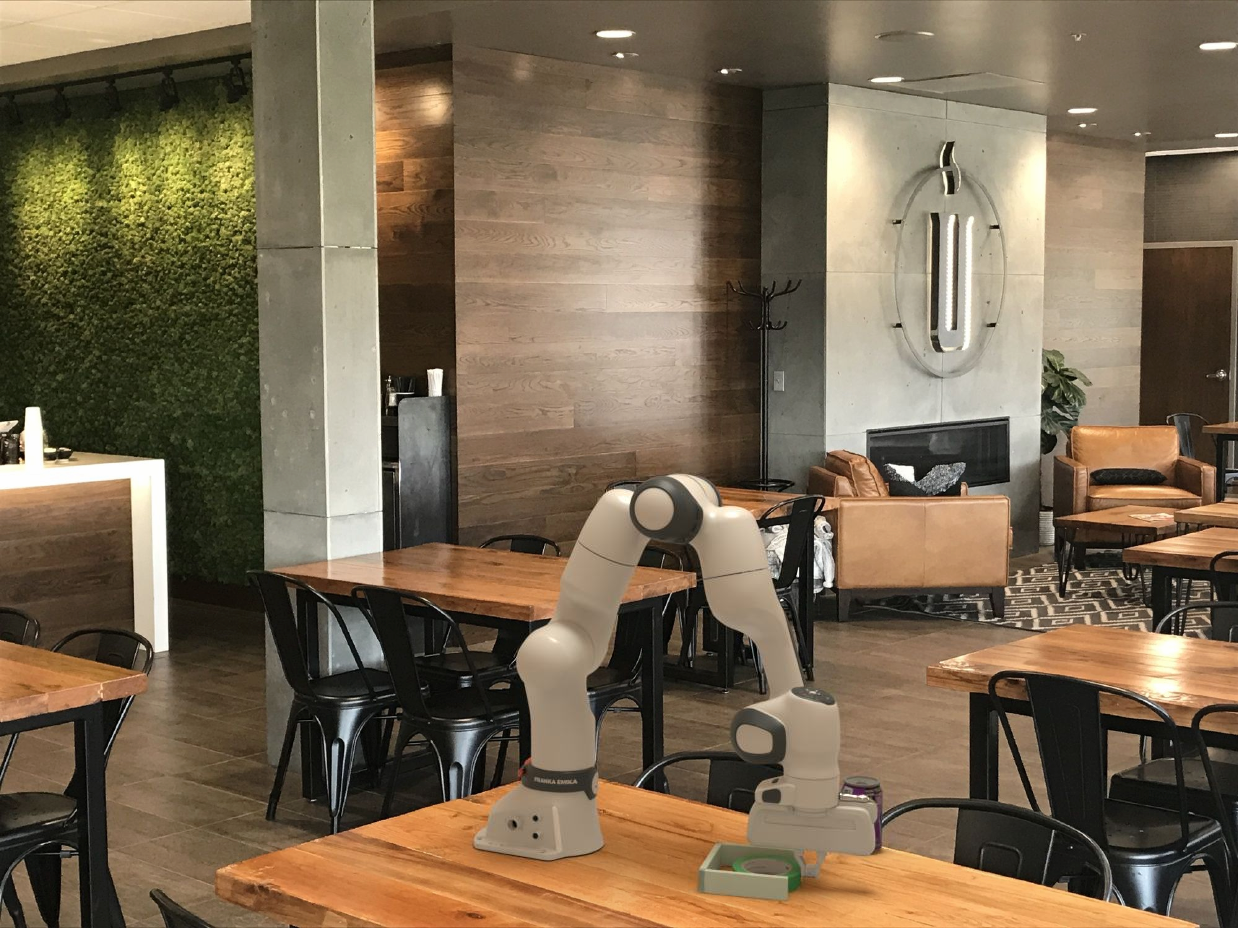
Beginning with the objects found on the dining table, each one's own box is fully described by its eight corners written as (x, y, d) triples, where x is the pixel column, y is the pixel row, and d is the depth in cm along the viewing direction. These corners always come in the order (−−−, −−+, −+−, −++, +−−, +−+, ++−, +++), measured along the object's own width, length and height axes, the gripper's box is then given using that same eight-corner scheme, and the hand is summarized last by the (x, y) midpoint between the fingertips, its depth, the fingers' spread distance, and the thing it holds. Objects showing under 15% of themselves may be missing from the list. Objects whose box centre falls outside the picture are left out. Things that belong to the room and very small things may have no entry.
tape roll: (800, 896, 228) (800, 879, 227) (729, 892, 229) (730, 875, 229) (802, 872, 239) (802, 856, 238) (734, 869, 240) (734, 853, 240)
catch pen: (698, 892, 229) (698, 870, 229) (716, 862, 244) (716, 841, 243) (786, 900, 225) (787, 878, 225) (800, 870, 240) (800, 849, 240)
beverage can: (881, 856, 247) (882, 787, 246) (838, 853, 248) (840, 784, 248) (882, 844, 254) (883, 776, 253) (841, 841, 255) (842, 773, 255)
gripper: (879, 790, 232) (877, 876, 232) (752, 780, 237) (750, 864, 238) (876, 801, 226) (874, 889, 226) (745, 791, 231) (744, 876, 231)
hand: (810, 876), depth 232 cm, fingers closed
